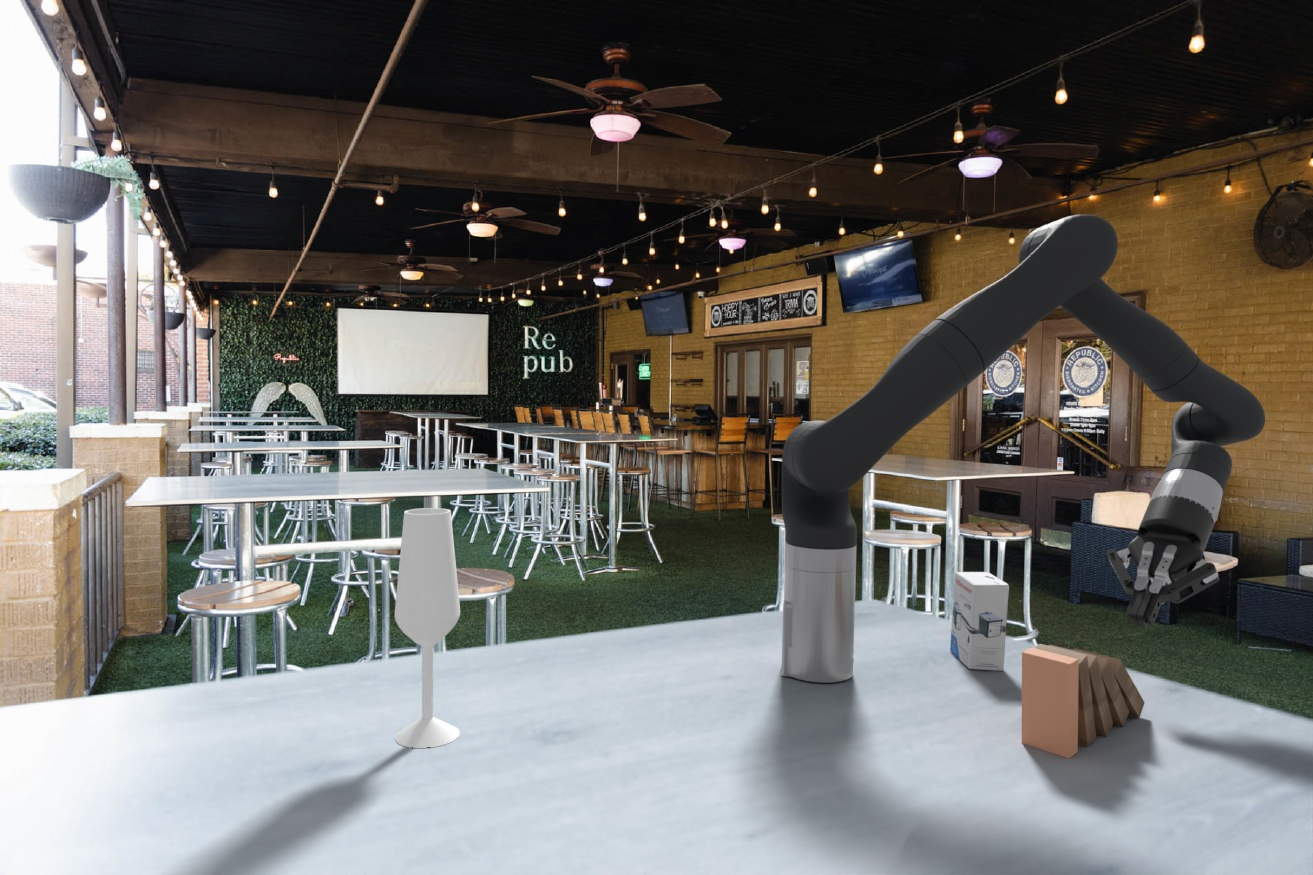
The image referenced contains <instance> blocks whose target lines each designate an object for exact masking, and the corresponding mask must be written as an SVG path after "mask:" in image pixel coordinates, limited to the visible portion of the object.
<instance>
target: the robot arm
mask: <svg viewBox="0 0 1313 875" xmlns="http://www.w3.org/2000/svg"><path fill="white" fill-rule="evenodd" d="M1118 241H1119V240H1118V236H1117V232H1116V230H1115V228H1114V226H1113V225H1112V224H1111V223H1110V222H1109V221H1108V220H1106V219H1105V218H1103V217H1101V216H1098V215H1093V214H1086V213H1085V214H1074V215H1073V214H1072V215H1069V216H1066V217H1062V218H1060V219H1058V220H1054V221H1052V222H1050V223H1047V224H1044V225H1042V226H1040V227H1038V228H1037V229H1034V230H1033V231H1031V232H1030V233H1029V234H1028V235H1027V236H1026V237H1024V240H1023V241H1022V242H1021V245H1020V248H1019V252H1018V263H1019V264H1018V265H1017V266H1016V267H1015V268H1014V269H1012V270H1011V271H1009V272H1008V273H1007V274H1006V275H1005V276H1004V275H1003V277H1001V278H1000V279H999V280H997V281H995V282H993V283H991V284H990V285H988V286H985V287H984V288H982V289H981V290H979V291H977V292H975V293H974V294H971V295H970V296H968V297H967V298H965V299H963V300H961V301H960V302H958V303H957V304H955V305H954V306H952V307H951V308H949V309H947V310H946V311H945V312H943V313H942V314H941V315H939V316H938V317H936V318H935V319H934V320H932V322H931V321H930V323H929V324H928V325H927V326H925V327H924V328H922V330H921V331H919V332H918V333H917V334H916V335H915V336H914V337H912V338H911V339H910V340H909V341H908V342H907V343H906V344H904V346H903V347H902V348H901V349H900V351H898V353H897V354H896V355H895V356H894V358H893V359H892V361H891V362H890V364H888V367H887V368H886V369H885V371H884V372H883V373H882V375H881V377H879V379H878V380H877V382H876V383H875V384H874V385H873V386H872V387H871V388H870V389H869V390H868V391H867V392H866V393H865V394H863V395H862V396H861V397H860V398H858V399H857V400H855V401H854V402H853V403H852V404H850V405H849V406H847V408H845V409H843V410H842V411H840V412H838V414H836V415H834V416H832V417H831V418H829V419H828V420H810V421H809V420H808V421H806V422H804V423H801V424H799V425H798V426H796V427H794V429H793V430H792V431H791V432H790V433H789V435H788V436H787V438H786V440H785V442H784V445H783V449H782V457H781V458H782V459H781V515H782V519H783V525H784V532H785V533H784V534H785V536H784V537H785V538H784V539H785V540H784V541H785V543H784V544H785V545H784V546H785V548H784V578H783V579H784V581H783V582H784V583H783V584H784V586H783V605H782V633H781V634H782V635H781V636H782V638H781V639H782V640H781V641H782V643H781V676H783V677H788V678H789V677H790V678H793V679H797V680H801V681H805V682H810V683H811V682H812V683H827V684H828V683H838V682H839V683H840V682H843V681H847V680H849V679H851V678H852V677H853V675H854V661H855V657H854V646H855V619H856V618H855V615H856V614H855V612H856V611H855V608H856V580H857V579H856V576H857V544H858V543H857V542H858V540H857V538H858V530H857V529H858V528H857V523H856V521H855V519H854V517H853V514H852V510H851V506H850V489H851V488H852V487H854V486H855V485H857V483H859V481H862V479H863V478H864V477H865V476H866V475H867V474H868V472H869V471H870V470H871V469H872V468H873V467H875V465H877V463H878V462H879V461H880V460H881V459H882V458H883V457H884V456H885V455H886V454H887V453H888V451H890V450H891V449H892V447H894V446H895V444H896V443H898V442H899V440H901V439H902V438H903V437H904V436H905V435H906V434H907V433H909V432H910V431H911V430H912V429H913V428H915V427H916V426H917V425H919V424H920V423H921V422H923V421H925V419H927V418H928V417H930V416H931V415H932V414H933V413H934V412H936V411H937V410H938V409H940V408H941V407H942V406H943V405H945V403H947V402H948V401H949V400H951V399H952V398H953V397H954V396H955V395H957V394H959V393H960V392H962V390H963V389H965V388H966V387H968V385H970V384H971V383H972V382H973V381H974V380H976V379H977V378H978V377H980V375H982V374H983V373H984V372H985V371H986V370H987V369H988V368H990V367H991V365H993V364H994V363H995V362H996V361H997V360H998V359H999V358H1001V357H1002V356H1003V355H1004V354H1005V353H1006V352H1008V350H1010V349H1011V348H1012V347H1013V346H1015V344H1017V343H1018V342H1019V341H1020V340H1021V339H1022V338H1023V337H1024V336H1025V335H1026V334H1027V333H1029V332H1030V330H1032V329H1033V327H1035V326H1036V325H1037V324H1038V323H1040V321H1041V320H1043V319H1044V318H1045V317H1046V316H1048V315H1049V314H1051V313H1052V312H1053V311H1055V310H1056V309H1057V308H1059V307H1061V308H1063V309H1064V310H1065V311H1066V312H1067V313H1069V314H1070V315H1071V316H1072V317H1073V318H1075V319H1076V320H1077V321H1078V322H1080V323H1081V324H1082V325H1083V326H1085V327H1086V328H1087V329H1088V330H1090V332H1092V333H1093V334H1094V335H1095V336H1097V337H1098V338H1099V339H1100V340H1101V342H1103V343H1105V345H1106V346H1108V347H1109V349H1111V350H1112V351H1113V352H1114V353H1115V354H1116V355H1117V356H1118V357H1119V359H1121V360H1122V361H1123V362H1124V363H1125V364H1126V365H1127V366H1128V367H1129V368H1130V370H1131V371H1133V373H1134V374H1135V375H1136V376H1137V377H1138V378H1139V379H1140V380H1141V381H1142V383H1144V384H1145V385H1146V387H1147V388H1148V389H1149V390H1150V391H1151V392H1152V393H1153V394H1154V396H1156V397H1157V398H1158V399H1160V400H1161V401H1162V402H1163V401H1164V402H1166V403H1181V402H1182V403H1185V404H1183V405H1182V406H1180V407H1179V409H1178V410H1177V411H1176V412H1175V413H1174V415H1173V417H1172V420H1171V439H1170V440H1171V441H1170V442H1171V444H1170V453H1171V454H1170V458H1169V460H1168V462H1167V464H1166V467H1165V470H1164V473H1163V474H1162V477H1161V479H1160V480H1159V481H1158V484H1157V485H1156V487H1155V488H1154V490H1153V493H1152V495H1151V498H1150V501H1149V503H1148V505H1147V506H1146V509H1145V512H1144V514H1143V517H1142V520H1141V522H1140V524H1139V527H1138V530H1137V533H1136V536H1135V537H1134V538H1133V539H1132V540H1131V541H1130V542H1129V543H1128V546H1127V547H1126V548H1123V549H1121V550H1118V551H1117V550H1116V549H1115V548H1109V549H1108V550H1106V553H1105V554H1106V556H1107V558H1108V560H1109V562H1110V565H1111V566H1112V569H1113V570H1114V573H1115V574H1116V576H1117V578H1118V580H1119V583H1120V584H1121V585H1122V588H1123V590H1124V591H1125V593H1126V594H1127V595H1129V596H1131V598H1130V600H1129V603H1128V605H1127V608H1126V613H1127V616H1128V618H1129V620H1130V621H1131V623H1132V625H1133V626H1136V627H1140V628H1146V629H1147V628H1148V626H1149V625H1153V624H1154V622H1156V619H1157V617H1158V614H1159V612H1160V610H1161V606H1162V605H1163V604H1165V603H1166V602H1172V603H1173V604H1181V603H1182V602H1184V601H1186V600H1188V599H1190V598H1191V597H1193V596H1195V595H1197V594H1199V593H1200V592H1202V591H1204V590H1206V589H1207V588H1209V587H1211V586H1213V585H1215V584H1217V583H1218V582H1219V581H1220V577H1219V573H1218V570H1217V568H1216V566H1215V564H1214V563H1213V562H1207V561H1206V557H1205V555H1204V552H1205V550H1206V548H1207V544H1208V542H1209V539H1210V536H1211V534H1212V531H1213V528H1214V525H1215V523H1216V522H1217V520H1218V517H1219V512H1220V509H1221V504H1222V498H1223V494H1224V492H1225V489H1226V487H1227V483H1228V481H1229V478H1230V475H1231V472H1232V468H1233V461H1232V460H1233V458H1232V456H1231V455H1230V454H1229V452H1228V451H1227V450H1226V449H1225V448H1224V446H1229V445H1232V444H1238V443H1242V442H1244V441H1249V440H1251V439H1253V438H1255V437H1257V436H1259V435H1260V433H1261V432H1262V431H1263V429H1264V428H1265V424H1266V414H1265V413H1266V412H1265V411H1264V410H1265V409H1264V407H1263V405H1262V404H1261V402H1260V400H1259V399H1258V397H1256V396H1255V395H1254V393H1253V392H1251V391H1250V390H1249V389H1248V388H1246V387H1245V386H1243V385H1242V384H1240V383H1238V382H1237V381H1235V380H1234V379H1232V378H1230V377H1229V376H1228V375H1225V374H1224V373H1222V372H1220V371H1219V370H1217V369H1216V368H1214V367H1212V366H1210V365H1209V364H1207V363H1206V362H1204V361H1203V360H1202V359H1201V358H1200V357H1199V355H1198V354H1197V353H1196V352H1195V351H1194V350H1193V349H1192V348H1191V347H1190V346H1189V345H1188V343H1187V342H1186V341H1185V339H1183V338H1182V337H1181V336H1180V335H1179V334H1178V333H1177V332H1176V331H1175V330H1174V329H1172V328H1171V327H1170V326H1168V325H1167V324H1166V323H1165V322H1164V321H1162V320H1160V319H1159V318H1158V317H1156V316H1154V315H1153V314H1150V313H1149V312H1147V311H1145V310H1144V309H1142V308H1140V307H1139V306H1137V305H1135V304H1134V303H1132V302H1131V301H1129V300H1128V299H1127V298H1125V297H1123V296H1121V294H1119V293H1118V292H1117V291H1115V290H1114V289H1113V288H1111V287H1110V286H1109V285H1108V284H1107V283H1106V282H1105V281H1104V280H1103V277H1104V276H1105V275H1106V273H1108V271H1109V270H1110V268H1111V267H1112V265H1113V263H1114V261H1115V259H1116V256H1117V254H1118V247H1119V243H1118ZM1131 558H1132V561H1133V562H1134V564H1135V566H1136V569H1137V570H1136V574H1137V575H1136V579H1135V580H1134V579H1132V578H1131V576H1130V574H1129V572H1128V570H1127V569H1128V568H1129V565H1130V559H1131Z"/></svg>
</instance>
